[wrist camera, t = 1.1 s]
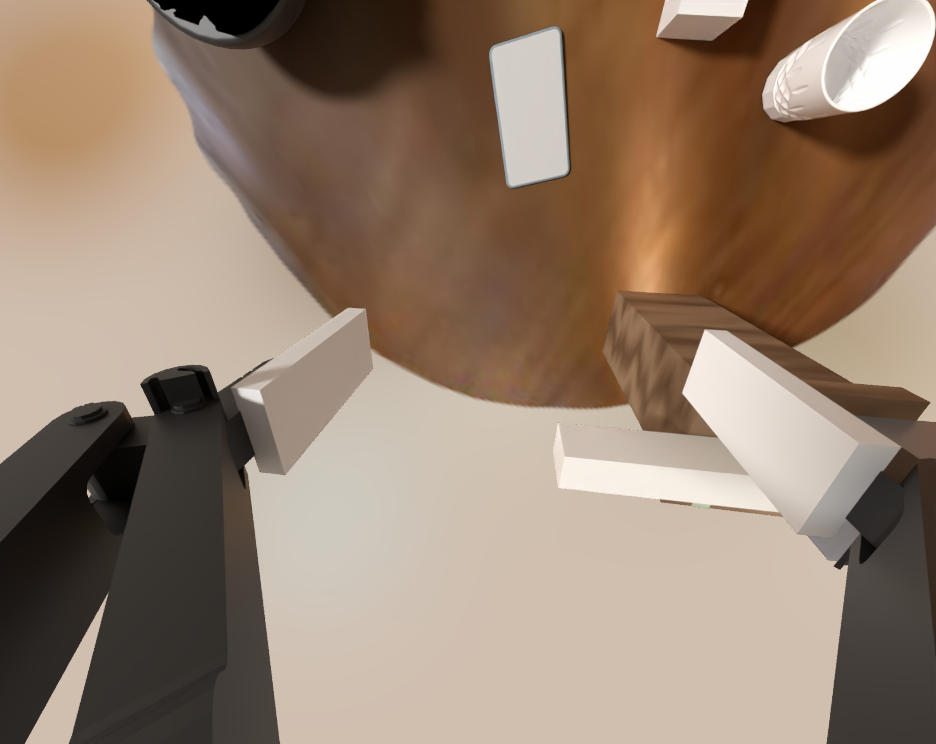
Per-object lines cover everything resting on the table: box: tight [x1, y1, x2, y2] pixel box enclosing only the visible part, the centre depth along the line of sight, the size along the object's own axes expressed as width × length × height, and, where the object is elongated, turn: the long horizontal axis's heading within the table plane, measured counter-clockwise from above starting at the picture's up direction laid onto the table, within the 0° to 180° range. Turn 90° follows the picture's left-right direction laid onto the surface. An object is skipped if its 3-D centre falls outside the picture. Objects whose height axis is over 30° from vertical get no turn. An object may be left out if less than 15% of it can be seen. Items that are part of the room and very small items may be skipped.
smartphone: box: [489, 26, 570, 188], centre depth 43 cm, size 8×1×15 cm
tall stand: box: [603, 291, 930, 517], centre depth 40 cm, size 12×14×30 cm
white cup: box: [762, 0, 936, 122], centre depth 34 cm, size 8×8×10 cm
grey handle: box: [553, 415, 936, 561], centre depth 25 cm, size 9×27×5 cm, turn 88°
